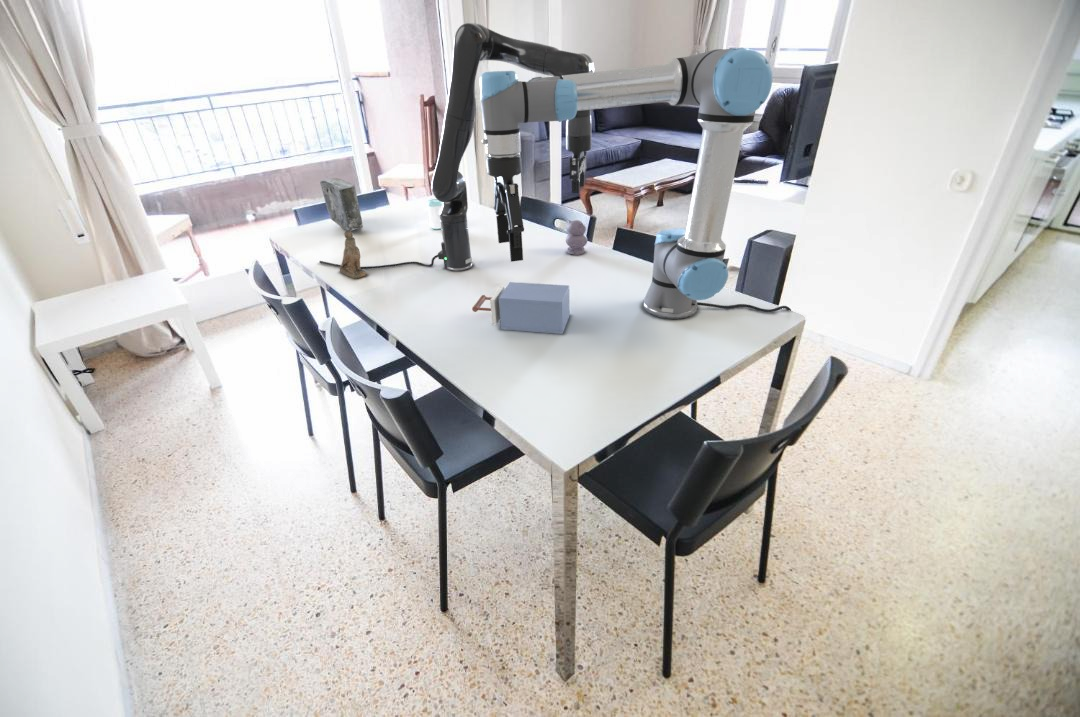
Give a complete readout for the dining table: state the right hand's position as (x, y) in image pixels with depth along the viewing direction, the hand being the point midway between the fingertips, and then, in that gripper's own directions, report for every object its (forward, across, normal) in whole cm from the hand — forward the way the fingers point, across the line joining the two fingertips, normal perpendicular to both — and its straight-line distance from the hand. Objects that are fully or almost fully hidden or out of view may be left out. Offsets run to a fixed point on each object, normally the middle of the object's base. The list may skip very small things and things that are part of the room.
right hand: (510, 251), depth 117 cm
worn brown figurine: (+26, -70, -44) cm, 87 cm away
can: (+26, -115, -9) cm, 118 cm away
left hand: (-3, -40, +31) cm, 50 cm away
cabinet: (+26, -11, +8) cm, 29 cm away
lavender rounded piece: (+26, -62, +38) cm, 77 cm away
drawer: (+25, -14, +3) cm, 29 cm away
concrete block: (+26, -130, -48) cm, 141 cm away
